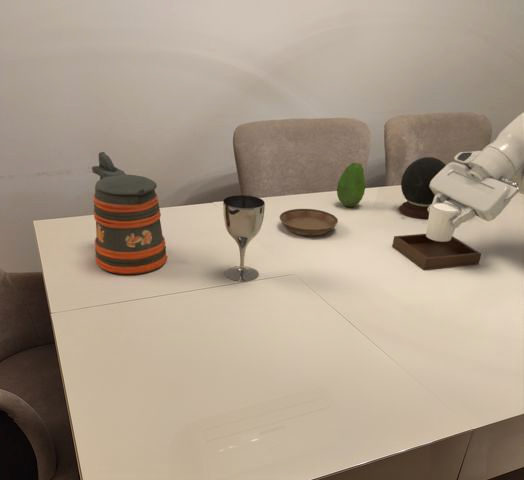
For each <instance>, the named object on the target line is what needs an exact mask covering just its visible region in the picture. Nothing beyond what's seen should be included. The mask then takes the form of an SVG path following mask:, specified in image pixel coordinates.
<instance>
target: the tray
mask: <svg viewBox="0 0 524 480" xmlns="http://www.w3.org/2000/svg"><path fill="white" fill-rule="evenodd" d="M391 247H392V248H394V249H395V250H396V251H398V253H401V254H402V255H403V256H404V257H406V258H407V259H408V260H409V261H411V262H412V263H414V264H415V265H416V266H418V267H419V268H421V269H422V270H423V271H426V270H427V271H429V270H436V269H444V268H445V269H447V268H455V267H465V266H476V265H479V264H480V260H481V258H482V252H480V251H478V250H476V249H475V248H473V247H471V246H470V245H468V244H467V243H465V242H464V241H462V240H460V239H458V238H456V237H455V236H454V235H453V236H452V238H451V240H450V241H447V242H440V241H434V240H431V239H429V238H428V237H426V233H418V234H417V233H416V234H405V235H395V236H393V239H392V245H391Z"/></svg>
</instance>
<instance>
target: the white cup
mask: <svg viewBox="0 0 524 480" xmlns="http://www.w3.org/2000/svg"><path fill="white" fill-rule="evenodd" d="M462 212H463V209H462V208H460V207H458V206H456V205H454V204H452V203H450V202H443V203H433V204H431V205H430V211H429V218H428V219H427V226H426V231H425V234H426V237H428V238H429V239H431V240H434V241H440V242H447V241H450V240H451V238H452V236H453V237H454V233H455V230H456V229H457V228H456V227H454V226H452V225H451V223H450V220H451V219H452V218H453V217H454V216H455V215H456V216H459V215H461V214H462Z"/></svg>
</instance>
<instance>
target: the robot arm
mask: <svg viewBox="0 0 524 480" xmlns="http://www.w3.org/2000/svg"><path fill="white" fill-rule="evenodd" d="M453 160H454V161H451V162H449V163H448V164H445V165H446V166H445V167H444V168H443V169H442V170H441V171H440V172H439V173H438V174H437V175H436V176H435V177H434V178H433V179H432V180H431V182H430V185H429V187H430V189H431V190H432V192H433V193H434V195H435V197H434V200H433V202H432V204H433V203H445V202H447V203H449V204H453V205H456V206H458V207H460V208H461V209H462V210H464V212H463V213H461V214H460V215H459V216H456V215H455V216H454V217H453V218H452V219H451V220H450V223H451V225H452V226H454V227H456V228H455V229H458V228H459V227H460V226H461V225H462V224H463V223H465V222H468V221H470V220H473V219H474V218H475V217H478V218H480V219H482V220H484V221H486V222H491V221H494V220H496V218H497V217H499V215H500V214H501V213H502V212H503V211H504V209H505V208H506V207H507V206H508V205H509V203H510V202H511V201H512V199H513V198H514V197H515V196H516V195H517V194H522V195H524V111H523V112H522V113H520V114H519V115H518V116H516V117H515V118H514V119H513V120H512V121H511V122H510V123H508V125H507V126H505V127H504V128H503V129H502V130H501V131H500V132H499V134H498V135H497V137H496V139H495V140H493V141H492V142H491V143H489V144H487V145H486V146H485V147H484V148H483V149H482V150H475V151H460V152H458V153H457V154H456V155H454V158H453ZM427 210H428V212H429V211H430V206H429V207H428V209H427Z"/></svg>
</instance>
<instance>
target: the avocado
mask: <svg viewBox="0 0 524 480" xmlns="http://www.w3.org/2000/svg"><path fill="white" fill-rule="evenodd" d="M365 179H366V178H365V172H364V168H363V166H362V164H361V163H358V162H352V163H351V164H349V165H348V166H347V167H346V168H345V169H344V170H343V172H342V174H341V176H340V178H339V180H338V182H337V186H336V194H337V198H338V201H339V202H340V204H342V205H343V206H345V207H348V208H352V207H355V206H357V205H358V204H359V203H360V202H361V201H362V200H363V197H364V195H365V191H366V181H365Z"/></svg>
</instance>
